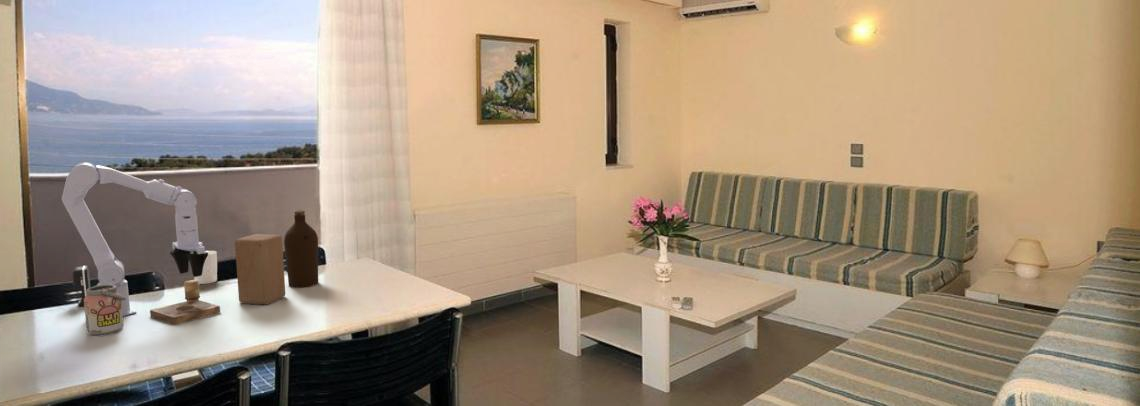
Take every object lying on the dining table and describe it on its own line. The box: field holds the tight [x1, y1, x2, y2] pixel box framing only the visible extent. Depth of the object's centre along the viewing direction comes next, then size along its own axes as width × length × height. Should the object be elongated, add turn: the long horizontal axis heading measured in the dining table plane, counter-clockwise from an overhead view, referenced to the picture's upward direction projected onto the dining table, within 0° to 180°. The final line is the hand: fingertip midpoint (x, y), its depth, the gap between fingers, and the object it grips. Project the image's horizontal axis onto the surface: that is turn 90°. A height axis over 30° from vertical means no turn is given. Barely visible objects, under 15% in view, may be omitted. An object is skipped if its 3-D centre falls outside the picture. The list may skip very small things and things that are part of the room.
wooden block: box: [234, 233, 286, 305], centre depth 211 cm, size 10×10×20 cm
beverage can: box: [84, 285, 126, 337], centre depth 183 cm, size 9×8×12 cm
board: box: [149, 299, 221, 325], centre depth 198 cm, size 13×13×2 cm
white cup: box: [193, 250, 218, 285], centre depth 234 cm, size 8×8×10 cm
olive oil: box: [283, 209, 319, 288], centre depth 230 cm, size 11×11×25 cm
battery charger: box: [72, 265, 91, 307], centre depth 208 cm, size 7×4×11 cm, turn 32°
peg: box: [183, 279, 201, 301], centre depth 208 cm, size 4×4×7 cm
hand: (190, 274), depth 207 cm, fingers open, 7 cm apart
